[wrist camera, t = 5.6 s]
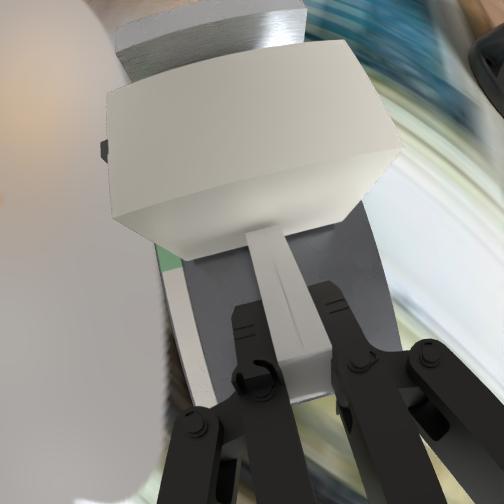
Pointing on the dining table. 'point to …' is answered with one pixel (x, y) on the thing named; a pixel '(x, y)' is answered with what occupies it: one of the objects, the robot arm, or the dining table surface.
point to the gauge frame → (239, 260)
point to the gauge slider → (246, 146)
